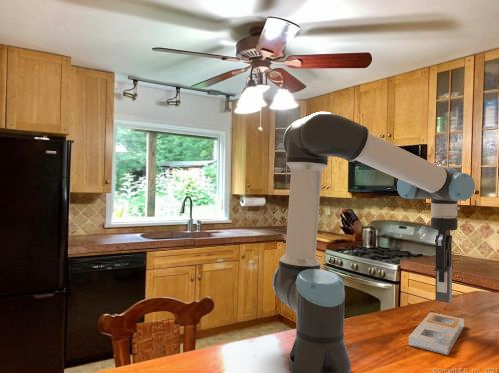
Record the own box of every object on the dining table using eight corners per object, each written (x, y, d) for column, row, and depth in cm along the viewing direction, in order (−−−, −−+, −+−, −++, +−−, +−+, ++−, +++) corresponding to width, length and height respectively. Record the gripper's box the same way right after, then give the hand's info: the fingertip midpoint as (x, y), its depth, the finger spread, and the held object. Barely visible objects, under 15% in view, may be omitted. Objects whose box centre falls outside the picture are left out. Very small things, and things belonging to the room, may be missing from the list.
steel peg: (435, 300, 119) (435, 265, 119) (438, 297, 122) (438, 263, 122) (449, 302, 117) (449, 267, 117) (451, 299, 120) (452, 265, 120)
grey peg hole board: (408, 345, 107) (408, 335, 107) (430, 319, 127) (430, 311, 127) (447, 355, 101) (447, 345, 101) (463, 326, 121) (464, 318, 121)
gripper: (452, 219, 110) (451, 299, 110) (462, 215, 124) (461, 286, 124) (424, 218, 115) (424, 294, 115) (437, 214, 128) (436, 282, 129)
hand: (443, 290), depth 119 cm, fingers closed on steel peg, 4 cm apart
